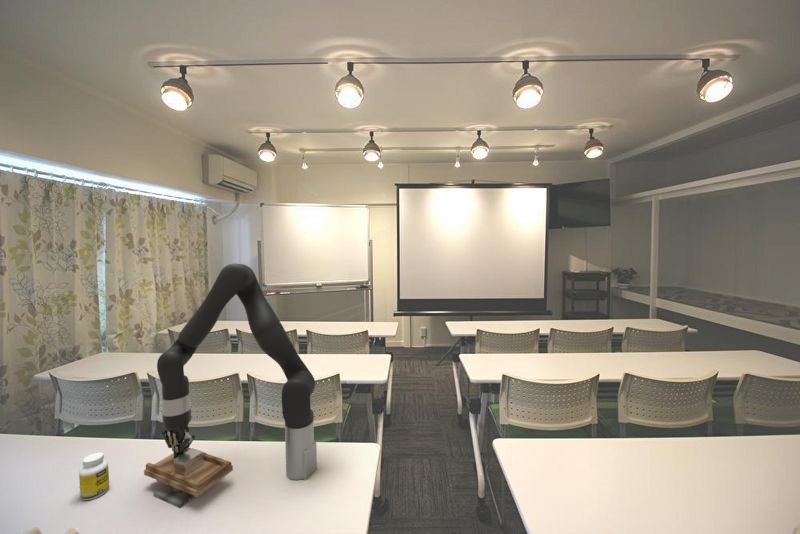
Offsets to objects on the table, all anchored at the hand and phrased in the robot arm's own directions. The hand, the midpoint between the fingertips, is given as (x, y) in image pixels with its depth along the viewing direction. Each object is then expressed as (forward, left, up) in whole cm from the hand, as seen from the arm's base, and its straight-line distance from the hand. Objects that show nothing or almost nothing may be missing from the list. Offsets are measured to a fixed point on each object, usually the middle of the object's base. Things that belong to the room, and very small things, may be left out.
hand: (179, 461), depth 104 cm
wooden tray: (-5, 0, -7) cm, 8 cm away
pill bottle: (+19, +13, -7) cm, 24 cm away
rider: (-5, 0, -1) cm, 5 cm away
